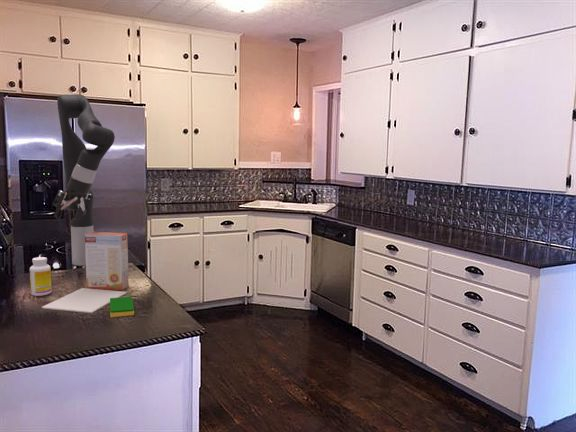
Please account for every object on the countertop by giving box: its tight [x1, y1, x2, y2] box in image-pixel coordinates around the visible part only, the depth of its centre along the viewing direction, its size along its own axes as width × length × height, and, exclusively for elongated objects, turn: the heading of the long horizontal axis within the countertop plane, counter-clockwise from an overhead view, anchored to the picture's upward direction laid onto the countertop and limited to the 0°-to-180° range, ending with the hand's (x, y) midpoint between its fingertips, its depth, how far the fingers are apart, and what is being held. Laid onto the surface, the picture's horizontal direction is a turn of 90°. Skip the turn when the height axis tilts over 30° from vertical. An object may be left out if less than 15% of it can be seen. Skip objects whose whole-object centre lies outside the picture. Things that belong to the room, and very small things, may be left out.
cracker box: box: [85, 231, 129, 291], centre depth 179 cm, size 14×6×21 cm, turn 84°
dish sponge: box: [109, 296, 135, 318], centre depth 158 cm, size 7×14×2 cm, turn 21°
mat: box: [41, 287, 128, 314], centre depth 166 cm, size 22×18×1 cm
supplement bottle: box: [29, 256, 53, 297], centre depth 171 cm, size 7×7×13 cm
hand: (66, 218), depth 176 cm, fingers open, 8 cm apart
